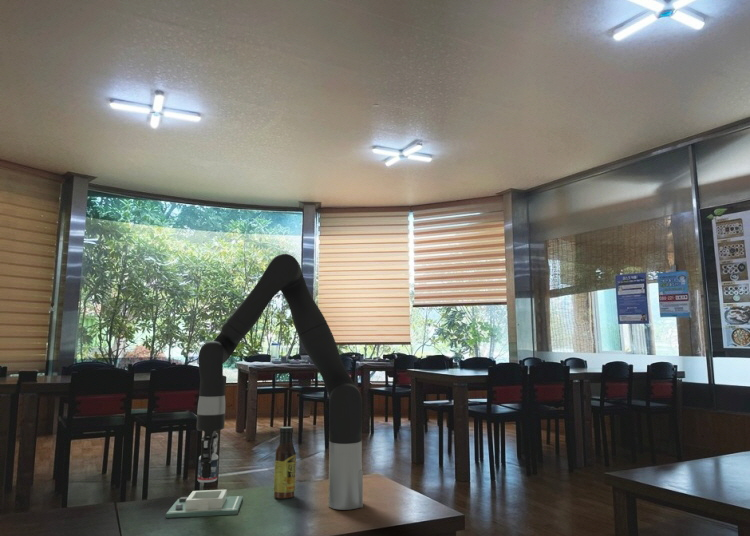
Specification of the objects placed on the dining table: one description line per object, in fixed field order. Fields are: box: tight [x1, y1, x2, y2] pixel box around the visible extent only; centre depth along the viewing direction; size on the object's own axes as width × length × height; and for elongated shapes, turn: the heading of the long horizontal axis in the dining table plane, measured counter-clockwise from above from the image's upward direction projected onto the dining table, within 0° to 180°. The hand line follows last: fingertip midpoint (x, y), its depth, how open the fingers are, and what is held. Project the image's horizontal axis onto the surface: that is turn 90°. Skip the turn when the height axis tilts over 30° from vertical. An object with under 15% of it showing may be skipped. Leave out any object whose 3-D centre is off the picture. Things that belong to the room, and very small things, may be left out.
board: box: [165, 489, 244, 519], centre depth 140 cm, size 18×14×4 cm
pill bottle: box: [196, 446, 219, 483], centre depth 141 cm, size 5×5×9 cm
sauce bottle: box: [273, 426, 297, 500], centre depth 152 cm, size 6×6×20 cm
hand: (208, 474), depth 141 cm, fingers closed on pill bottle, 5 cm apart
